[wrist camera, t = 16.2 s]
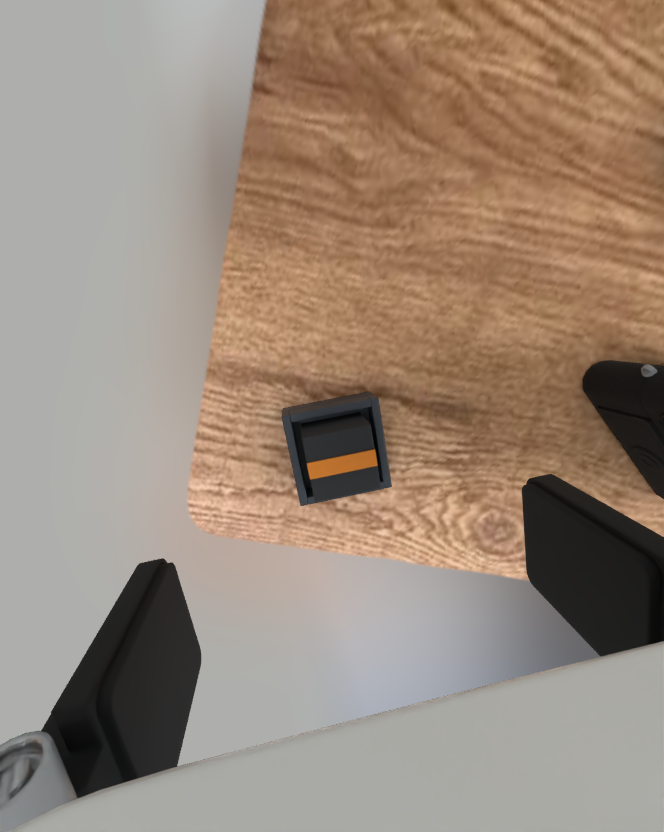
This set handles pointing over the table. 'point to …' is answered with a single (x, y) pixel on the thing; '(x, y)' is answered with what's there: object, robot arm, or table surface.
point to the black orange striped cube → (340, 456)
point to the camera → (633, 412)
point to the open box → (324, 410)
